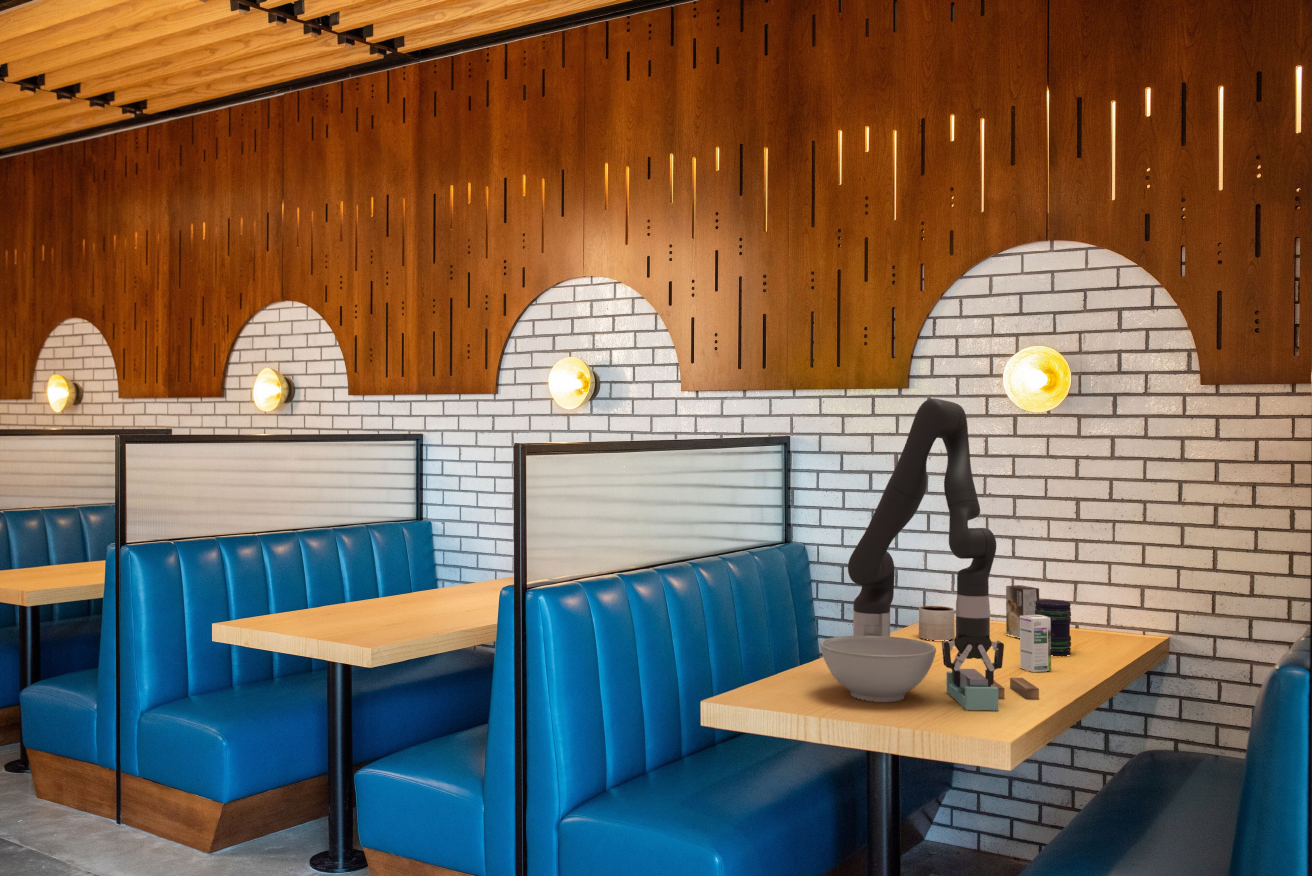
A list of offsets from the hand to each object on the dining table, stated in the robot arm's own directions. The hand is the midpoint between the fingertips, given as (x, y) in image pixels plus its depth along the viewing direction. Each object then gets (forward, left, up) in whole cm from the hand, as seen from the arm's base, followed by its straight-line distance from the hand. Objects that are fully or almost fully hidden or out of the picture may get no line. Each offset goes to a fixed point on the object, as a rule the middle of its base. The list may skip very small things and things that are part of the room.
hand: (972, 686), depth 238 cm
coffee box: (+40, +89, -4) cm, 98 cm away
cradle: (0, +1, -4) cm, 4 cm away
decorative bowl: (-21, +5, -4) cm, 22 cm away
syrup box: (+27, +38, -4) cm, 47 cm away
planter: (+12, +85, -4) cm, 86 cm away
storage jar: (+40, +62, -4) cm, 74 cm away
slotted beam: (+11, +10, -4) cm, 15 cm away
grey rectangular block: (0, 0, -2) cm, 2 cm away
